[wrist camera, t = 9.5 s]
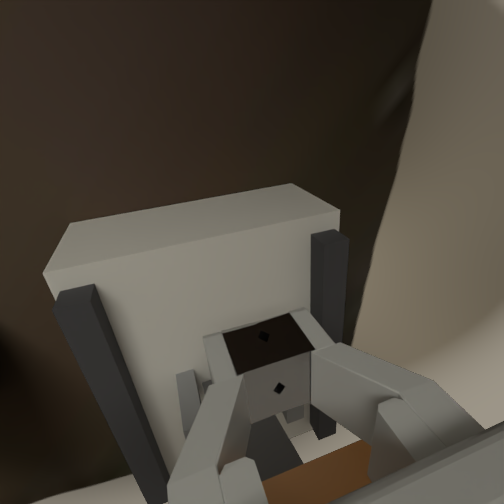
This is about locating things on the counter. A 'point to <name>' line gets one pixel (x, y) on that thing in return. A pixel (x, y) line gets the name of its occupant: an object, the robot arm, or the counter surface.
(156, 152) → the counter surface
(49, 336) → the counter surface
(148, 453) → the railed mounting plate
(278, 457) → the lever
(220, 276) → the box
